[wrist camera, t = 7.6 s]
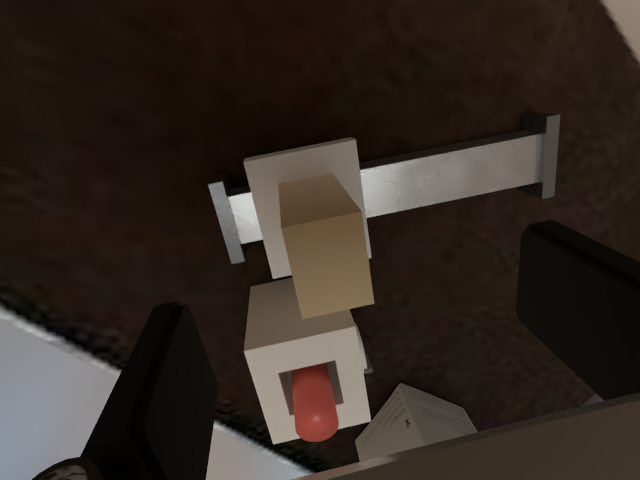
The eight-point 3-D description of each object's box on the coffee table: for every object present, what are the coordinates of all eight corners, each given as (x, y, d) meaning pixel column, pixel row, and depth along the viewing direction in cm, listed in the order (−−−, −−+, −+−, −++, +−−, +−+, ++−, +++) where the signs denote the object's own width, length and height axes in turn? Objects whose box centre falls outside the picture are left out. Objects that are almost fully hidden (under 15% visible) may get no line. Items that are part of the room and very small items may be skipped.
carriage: (247, 152, 22) (229, 196, 13) (344, 133, 23) (397, 163, 13) (272, 256, 25) (273, 356, 15) (359, 237, 25) (412, 325, 16)
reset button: (287, 349, 23) (291, 414, 18) (322, 341, 23) (335, 404, 18) (294, 376, 23) (300, 445, 19) (328, 369, 24) (341, 436, 19)
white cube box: (250, 286, 26) (243, 351, 19) (344, 266, 26) (368, 323, 20) (272, 364, 28) (273, 444, 22) (357, 345, 29) (382, 418, 22)
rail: (214, 175, 23) (208, 184, 20) (533, 112, 24) (560, 114, 21) (235, 248, 25) (231, 264, 22) (529, 187, 26) (554, 196, 23)
